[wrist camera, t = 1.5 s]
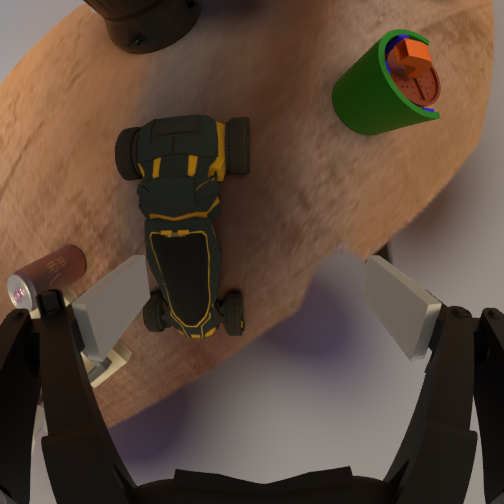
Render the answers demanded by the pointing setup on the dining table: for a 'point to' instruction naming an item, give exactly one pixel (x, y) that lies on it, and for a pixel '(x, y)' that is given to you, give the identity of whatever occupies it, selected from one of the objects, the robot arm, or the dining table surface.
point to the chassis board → (94, 368)
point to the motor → (389, 86)
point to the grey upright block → (39, 423)
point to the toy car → (185, 216)
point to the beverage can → (45, 276)
